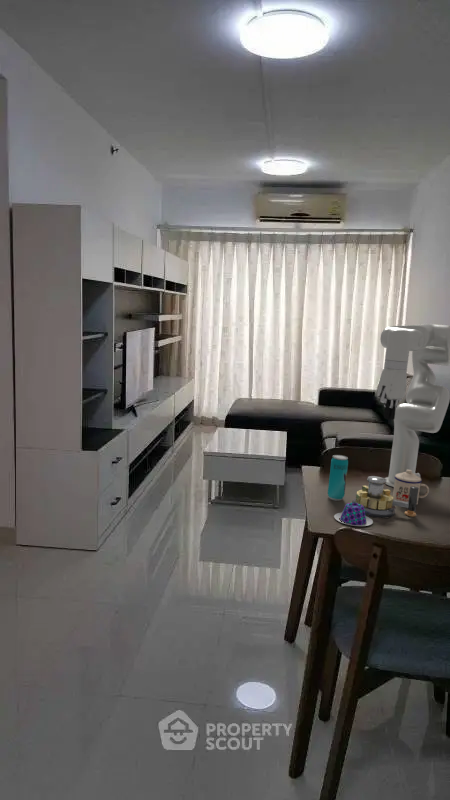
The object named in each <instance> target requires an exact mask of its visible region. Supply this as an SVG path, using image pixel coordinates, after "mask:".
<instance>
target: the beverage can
mask: <svg viewBox="0 0 450 800" xmlns="http://www.w3.org/2000/svg"><path fill="white" fill-rule="evenodd" d="M348 459H349V458H348V456H346V455H342V454H334V455H332V458H331V460H330V470H329V471H330V472H329V477H328V478H329V480H328V487H327V496H328V499H330V500H332V501H337V502H340V501H343V499H344V497H345V492H346V485H347V476H348V475H347V474H348V467H349V460H348Z"/></svg>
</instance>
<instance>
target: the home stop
mask: <svg viewBox="0 0 450 800" xmlns="http://www.w3.org/2000/svg"><path fill="white" fill-rule="evenodd" d="M404 515H405V516H407V517H416V516H417V513H416V511H410V510H408V509H407V510H406V511H404Z"/></svg>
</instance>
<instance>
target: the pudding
mask: <svg viewBox="0 0 450 800" xmlns="http://www.w3.org/2000/svg"><path fill="white" fill-rule="evenodd" d="M333 517H334V519H335V520H336V521H338V522H339V523H341V524H345V525H347V526H354V527H366V526H371V525H372V524H373V523H374V521H373V519H372V518H371V517H370V516H366V515H365V508H364V507H363V505H360V504H358V503H352V502H347V503H346V504H345V505H344V508H343V510H342V512H338V513H335V514H334V515H333ZM339 518H340V520H341V521H342V522H341V521H340V520H339ZM344 522H345V523H344Z"/></svg>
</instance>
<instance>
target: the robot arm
mask: <svg viewBox="0 0 450 800" xmlns="http://www.w3.org/2000/svg"><path fill="white" fill-rule="evenodd" d="M379 340H380V344H381V346H382V347H383V348H385V356H384V366H383V369H382V371H381V374H380V378H379V381H378V382H379V383H378V389H377V394H376V395H377V397H378V399H379V398H380V403H383V407H384V414H383V418H384V419H385V420H390V421H392V420H393V426H394V427H393V428H394V429H393V439H392V447H391V453H390V454H391V455H390V462H389V463H390V464H389V470H388V476H386V477H384V479H386V483H385V484H384V485H387V486H389V487H392V488H394V484H395V475H396V474H399V473H403V472H406V470H412V473H414V474H415V475H416V476H418V477H420V478H421V474H420V473H419V472H417V473H416V468H417V462H418V461H417V460H418V453H419V448H420V440H419V437H418V435H417V433H416V431H420V432H424V433H431V434H434V433H438V432H439V431H440V429H441V427H442V425H443V421H444V419H445V416H446V413H447V410H448V407H449V404H450V390H449V389H448V388H447V387H446V386H443V385H437V384H435V383H436V375H435V372H434V371H433V369H432V368H431V367H430V366H429V365H436V366H445V367H450V325H447V324H446V325H445V324H435V323H422V324H421V323H420V324H411V325H409V324H408V325H407V324H406V325H390V326H386V327H385V328H384V329H383V330H382V331H381V333H380V339H379ZM410 352H412V354H411V357H412V358H411V359H412V363H411V364H412V368H413V375H412V379H411V381H410V383H409V385H408V388H407V381H408V380H407V378H408V376H407V375H408V374H407V373H408V372H407V371H408V363H409V362H408V361H409V356H410ZM428 364H429V365H428ZM404 398H405V401H406V403H400V402H402V401H403V399H404ZM399 403H400V404H399Z"/></svg>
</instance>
